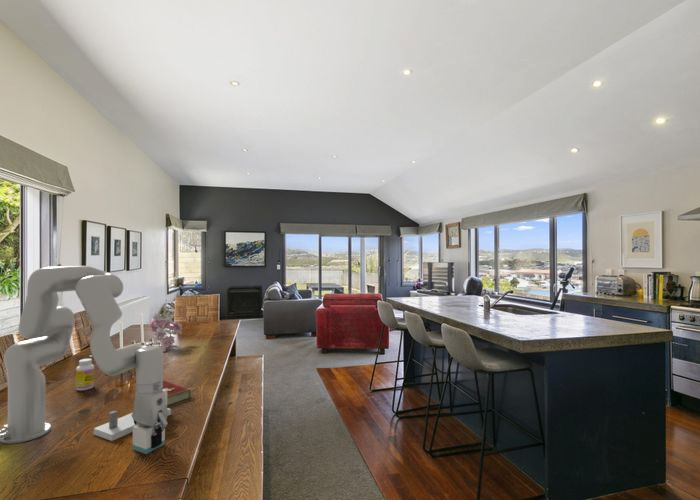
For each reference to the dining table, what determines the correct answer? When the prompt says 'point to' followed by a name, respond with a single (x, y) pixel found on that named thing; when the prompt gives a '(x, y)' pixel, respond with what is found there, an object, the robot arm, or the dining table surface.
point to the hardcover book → (175, 392)
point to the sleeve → (144, 438)
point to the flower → (160, 325)
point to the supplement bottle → (85, 375)
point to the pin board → (117, 426)
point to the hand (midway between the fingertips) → (148, 443)
